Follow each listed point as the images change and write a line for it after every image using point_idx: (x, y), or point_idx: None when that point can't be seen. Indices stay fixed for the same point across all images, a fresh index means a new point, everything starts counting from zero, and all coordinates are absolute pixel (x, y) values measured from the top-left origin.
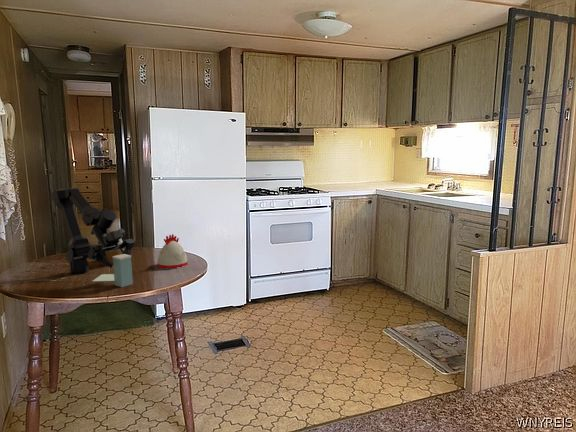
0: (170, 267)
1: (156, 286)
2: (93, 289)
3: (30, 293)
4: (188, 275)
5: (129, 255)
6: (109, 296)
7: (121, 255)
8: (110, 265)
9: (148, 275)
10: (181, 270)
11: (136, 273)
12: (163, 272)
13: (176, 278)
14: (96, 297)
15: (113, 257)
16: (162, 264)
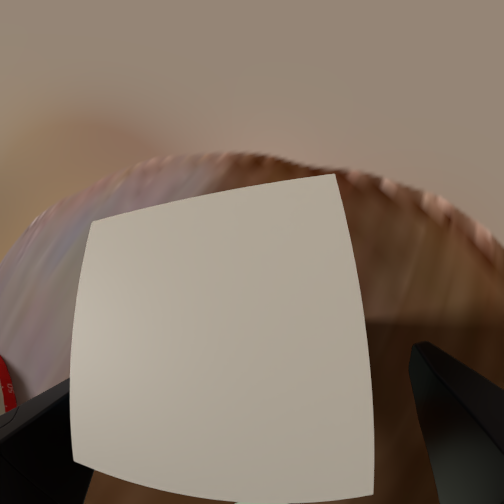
0: (5, 376)
1: (196, 187)
2: None
3: None
4: (46, 234)
5: (102, 238)
6: (443, 210)
7: (168, 382)
8: (438, 351)
9: None
10: (12, 315)
11: (104, 487)
12: (40, 364)
13: (80, 232)
14: (493, 245)
15: (370, 441)
16: (3, 413)
